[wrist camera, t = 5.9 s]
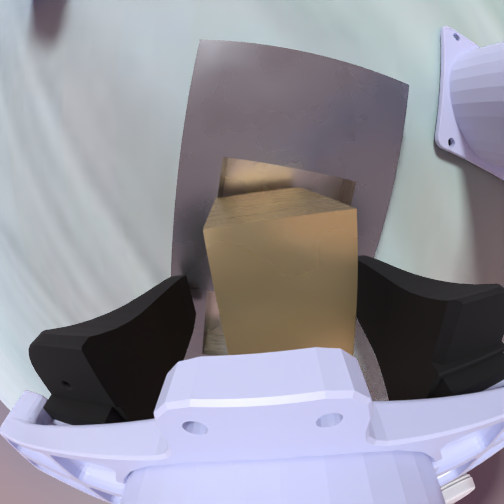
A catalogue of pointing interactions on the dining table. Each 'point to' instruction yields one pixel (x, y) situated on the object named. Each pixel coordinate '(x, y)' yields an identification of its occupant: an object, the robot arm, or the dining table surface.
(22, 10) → the dining table surface
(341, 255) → the wooden toy block
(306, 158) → the gray rectangular plate
